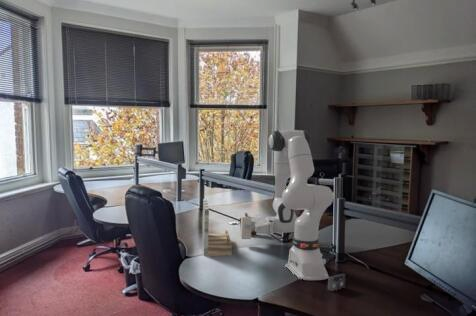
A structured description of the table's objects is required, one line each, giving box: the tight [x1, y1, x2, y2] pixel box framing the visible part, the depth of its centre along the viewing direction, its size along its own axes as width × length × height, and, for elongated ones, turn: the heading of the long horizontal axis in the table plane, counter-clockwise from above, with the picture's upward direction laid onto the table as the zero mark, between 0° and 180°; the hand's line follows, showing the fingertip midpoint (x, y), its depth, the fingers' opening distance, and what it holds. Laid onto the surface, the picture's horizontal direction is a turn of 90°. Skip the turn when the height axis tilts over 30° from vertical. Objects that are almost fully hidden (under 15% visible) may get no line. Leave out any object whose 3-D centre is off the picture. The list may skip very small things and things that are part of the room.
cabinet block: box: [240, 212, 253, 240], centre depth 201 cm, size 5×5×14 cm
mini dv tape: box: [326, 273, 347, 292], centre depth 152 cm, size 8×2×6 cm, turn 118°
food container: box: [238, 216, 258, 237], centre depth 224 cm, size 12×6×10 cm, turn 74°
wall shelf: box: [202, 198, 233, 257], centre depth 197 cm, size 24×14×24 cm, turn 7°
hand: (244, 225), depth 201 cm, fingers closed on cabinet block, 5 cm apart
